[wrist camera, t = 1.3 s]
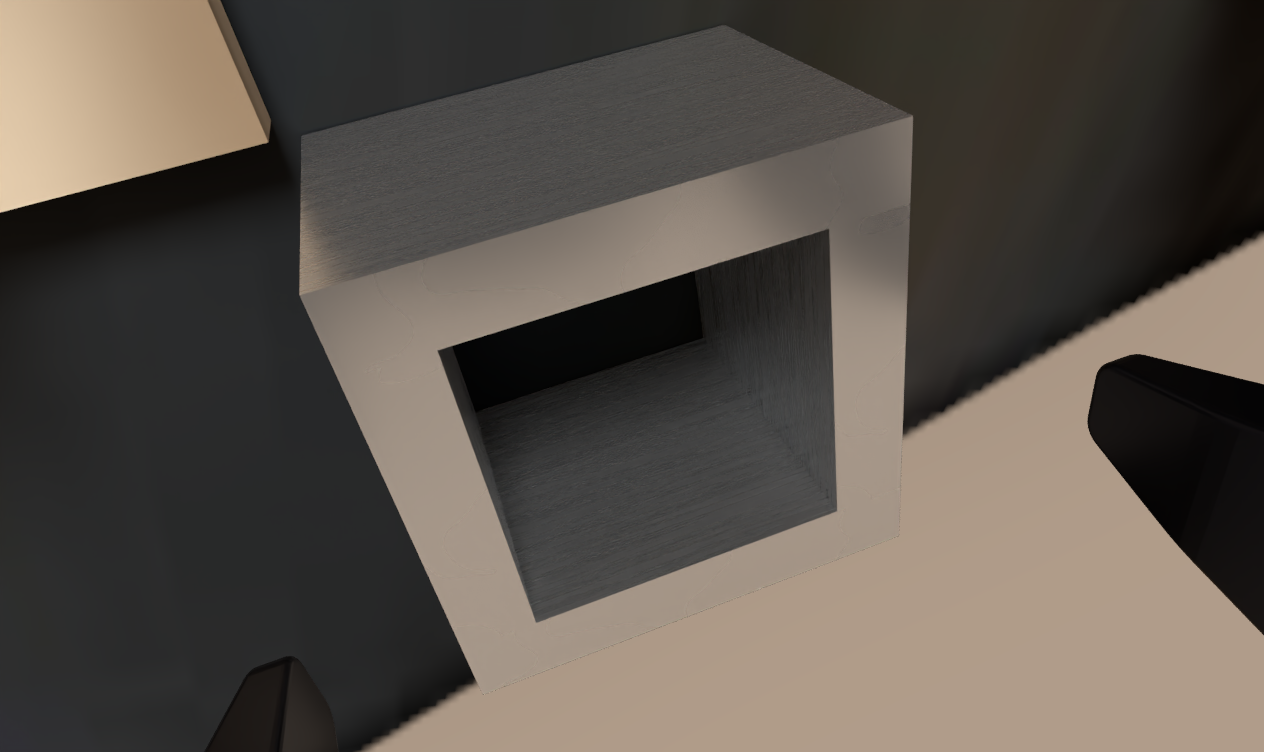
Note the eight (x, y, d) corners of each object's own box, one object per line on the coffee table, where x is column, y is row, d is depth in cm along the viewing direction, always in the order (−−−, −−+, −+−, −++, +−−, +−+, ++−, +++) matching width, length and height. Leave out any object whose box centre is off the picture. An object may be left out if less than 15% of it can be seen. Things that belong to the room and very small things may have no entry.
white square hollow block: (724, 24, 13) (913, 116, 9) (756, 364, 17) (899, 536, 13) (301, 136, 12) (300, 294, 8) (437, 470, 16) (483, 694, 12)
